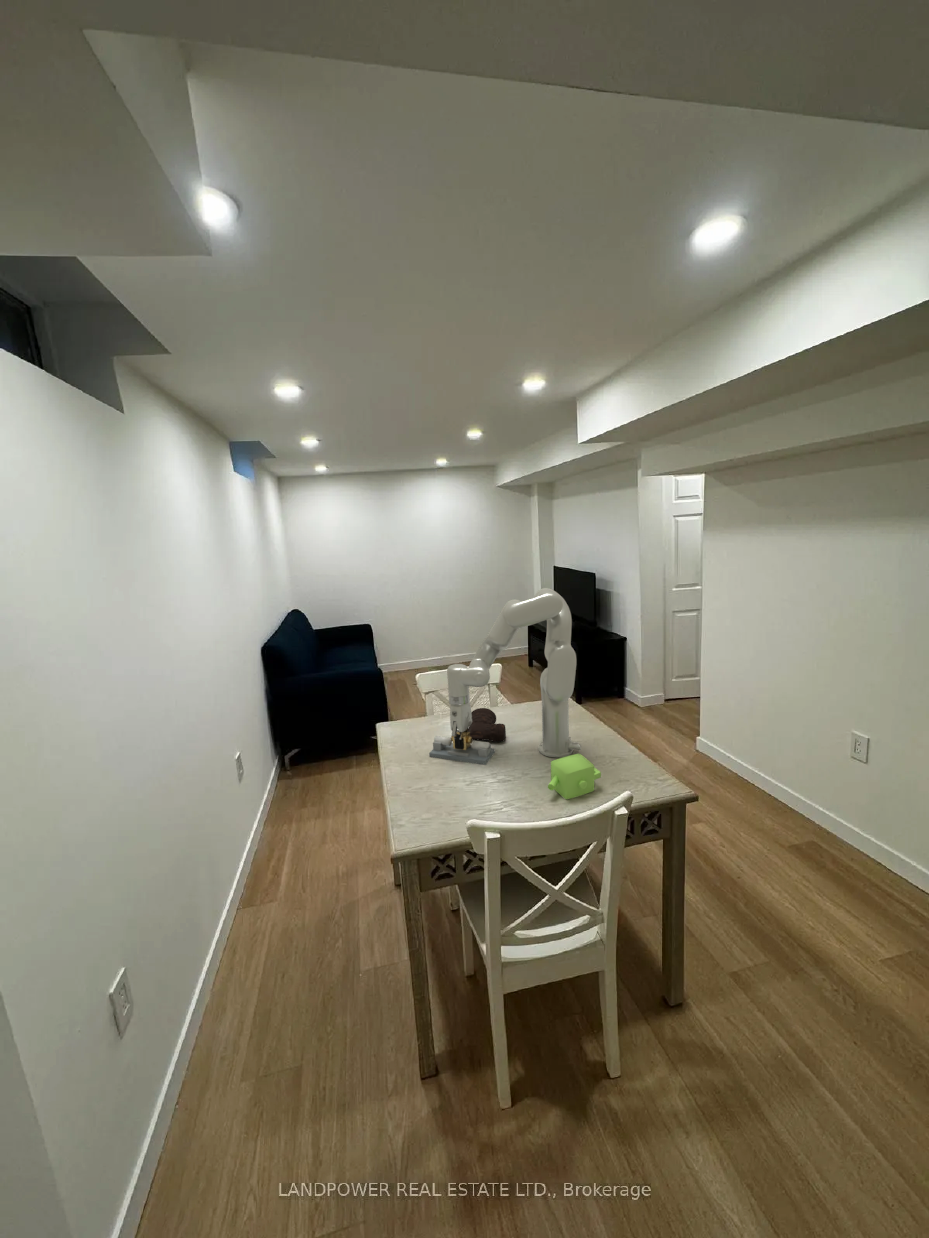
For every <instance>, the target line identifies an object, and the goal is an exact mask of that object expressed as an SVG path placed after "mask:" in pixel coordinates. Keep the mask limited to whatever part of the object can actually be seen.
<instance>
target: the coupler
mask: <svg viewBox="0 0 929 1238" xmlns="http://www.w3.org/2000/svg"><path fill="white" fill-rule="evenodd" d="M457 734H459V735H460V733H459V732H457ZM450 738H451V741H452V743H453V749H456V748H455V740H454V737H453V736H452V735H451V737H450ZM462 739H463V746H464V748H463V749H461V750H467V748H468V747H469V746H470V745H471V744H472V741H473V740H472V737H470V732H462Z"/></svg>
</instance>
